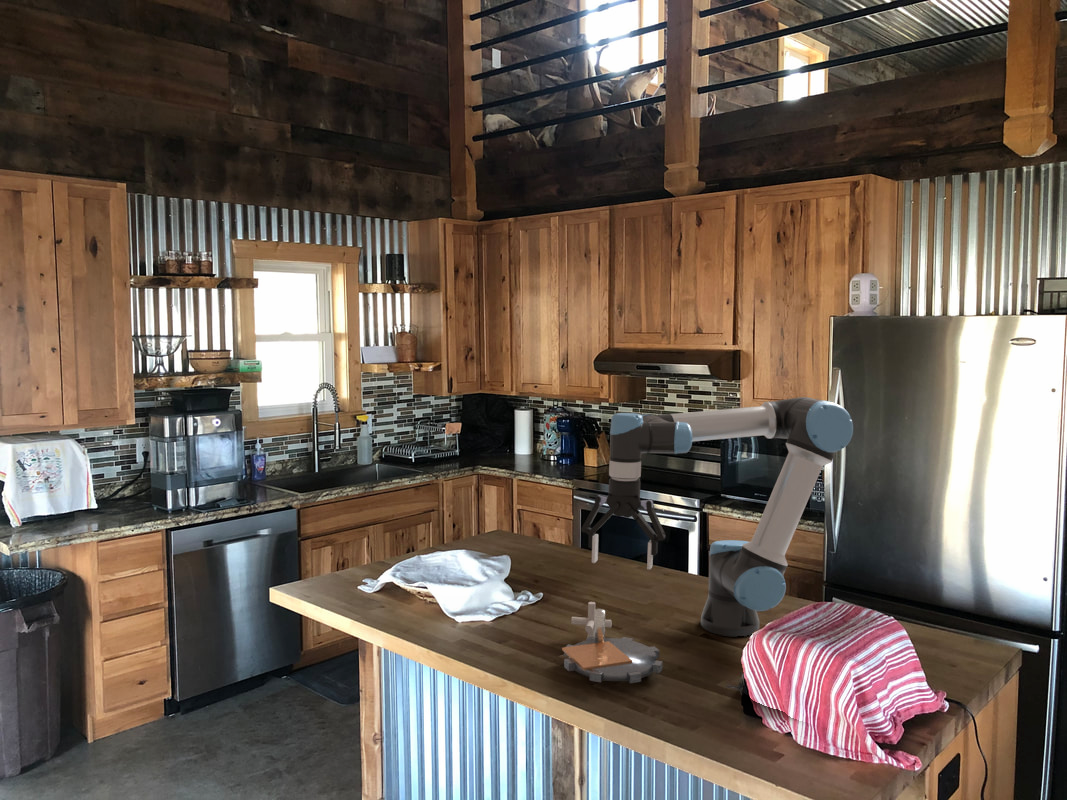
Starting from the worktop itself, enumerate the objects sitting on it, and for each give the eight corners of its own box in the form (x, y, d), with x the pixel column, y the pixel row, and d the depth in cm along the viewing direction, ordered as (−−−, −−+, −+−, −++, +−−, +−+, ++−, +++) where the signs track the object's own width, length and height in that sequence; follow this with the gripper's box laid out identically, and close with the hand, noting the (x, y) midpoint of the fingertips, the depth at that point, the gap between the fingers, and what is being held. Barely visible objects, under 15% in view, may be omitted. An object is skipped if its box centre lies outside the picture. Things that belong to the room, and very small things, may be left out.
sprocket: (633, 638, 211) (634, 599, 210) (681, 675, 189) (683, 632, 188) (547, 650, 203) (548, 609, 202) (587, 690, 181) (588, 645, 180)
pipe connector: (608, 650, 209) (609, 611, 208) (568, 647, 211) (569, 608, 210) (613, 635, 219) (613, 598, 218) (574, 632, 221) (575, 595, 220)
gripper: (679, 479, 203) (676, 566, 205) (579, 471, 211) (576, 554, 213) (674, 485, 196) (670, 575, 198) (570, 476, 204) (567, 562, 206)
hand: (621, 564), depth 206 cm, fingers open, 13 cm apart
